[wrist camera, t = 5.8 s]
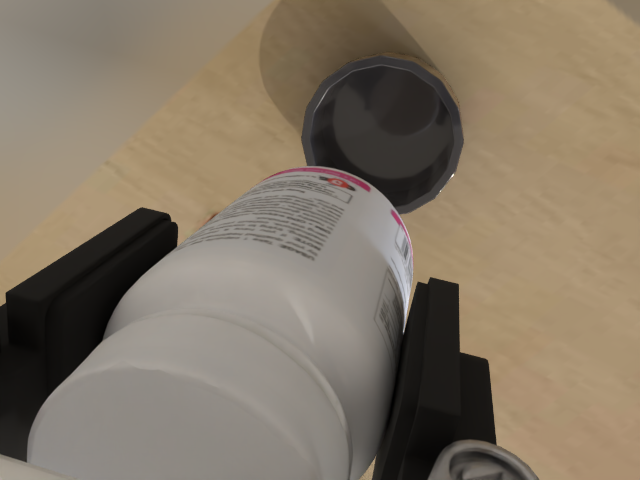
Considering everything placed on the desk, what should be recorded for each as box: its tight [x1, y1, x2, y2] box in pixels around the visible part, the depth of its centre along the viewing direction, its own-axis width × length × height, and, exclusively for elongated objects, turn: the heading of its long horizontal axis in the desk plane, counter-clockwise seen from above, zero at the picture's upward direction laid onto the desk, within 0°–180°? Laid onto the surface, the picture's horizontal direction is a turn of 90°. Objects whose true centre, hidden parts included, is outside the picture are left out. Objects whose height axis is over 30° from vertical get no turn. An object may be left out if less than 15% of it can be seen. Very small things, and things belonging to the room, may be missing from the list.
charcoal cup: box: [301, 52, 464, 215], centre depth 26 cm, size 7×7×3 cm
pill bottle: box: [27, 166, 413, 480], centre depth 11 cm, size 5×5×8 cm
